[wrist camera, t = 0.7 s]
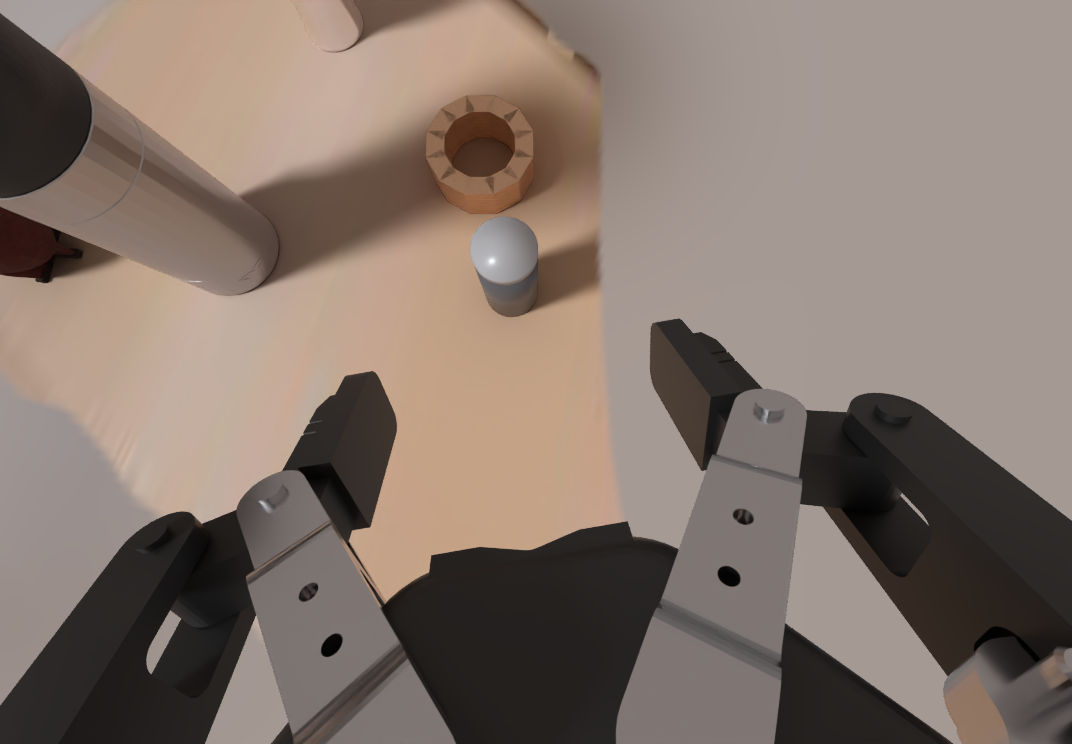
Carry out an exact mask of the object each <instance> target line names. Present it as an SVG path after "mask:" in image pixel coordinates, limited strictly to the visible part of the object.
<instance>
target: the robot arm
mask: <svg viewBox="0 0 1072 744" xmlns="http://www.w3.org/2000/svg"><path fill="white" fill-rule="evenodd" d="M0 207H2V208H4V209H7V210H9V211H12V212H14V213H17V214H19V215H22V216H24V217H27V218H29V219H31V220H34V221H36V222H39V223H42V224H44V225H47V226H49V227H52V228H54V229H57V230H59V231H62V232H64V233H66V234H69V235H71V236H74V237H76V238H79V239H81V240H84V241H86V242H88V243H91V244H93V245H96V246H98V247H101V248H103V249H106V250H108V251H110V252H113V253H115V254H118V255H120V256H123V257H125V258H128V259H130V260H133V261H135V262H137V263H140V264H142V265H145V266H147V267H150V268H152V269H155V270H157V271H159V272H162V273H164V274H167V275H169V276H172V277H174V278H176V279H179V280H181V281H184V282H186V283H188V284H191V285H193V286H196V287H198V288H201V289H203V290H206V291H208V292H211V293H214V294H217V295H226V296H229V295H238V294H241V293H244V292H247V291H249V290H251V289H253V288H255V287H257V286H258V285H259V284H260V283H262V282H263V281H264V280H265V279H266V278H267V276H268V275H269V274H270V273H271V271H272V269H273V267H274V266H275V264H276V260H277V257H278V250H279V243H278V237H277V234H276V231H275V229H274V227H273V226H272V224H271V223H270V221H269V220H268V219H267V218H266V217H264V216H263V215H262V214H261V213H260V212H258V211H257V210H256V209H254V208H253V207H252V206H251V205H249V204H248V203H247V202H245V201H244V200H243V199H241V198H240V197H239V196H238V195H236V194H235V193H234V192H233V191H231V190H230V189H229V188H228V187H226V186H225V185H224V184H222V183H221V182H220V181H218V180H217V179H216V178H215V177H213V176H212V175H211V174H209V173H208V172H207V171H205V170H204V169H203V168H202V167H200V166H199V165H198V164H196V163H195V162H194V161H192V160H191V159H190V158H189V157H187V156H186V155H185V154H183V153H182V152H181V151H179V150H178V149H177V148H176V147H174V146H173V145H172V144H170V143H169V142H168V141H166V140H165V139H164V138H163V137H161V136H160V135H159V134H157V133H156V132H155V131H153V130H152V129H151V128H150V127H148V126H147V125H146V124H144V123H143V122H142V121H140V120H139V119H138V118H137V117H135V116H134V115H133V114H131V113H130V112H129V111H127V110H126V109H125V108H123V107H122V106H121V105H119V104H118V103H117V102H115V101H114V100H113V99H111V98H110V97H109V96H108V95H106V94H105V93H104V92H102V91H101V90H100V89H98V88H97V87H96V86H95V85H93V84H92V83H91V82H89V81H88V80H87V79H86V78H84V77H83V76H82V75H80V74H79V73H78V72H76V71H75V70H74V69H72V68H71V67H70V66H69V65H68V64H66V63H65V62H64V61H62V60H61V59H60V58H58V57H57V56H56V55H54V54H53V53H52V52H50V51H49V50H48V49H46V48H45V47H44V46H42V45H41V44H40V43H38V42H37V41H36V40H34V39H33V38H32V37H30V36H29V35H28V34H26V33H25V32H24V31H23V30H21V29H20V28H19V27H17V26H16V25H15V24H14V23H12V22H11V21H10V20H8V19H7V18H6V17H4V16H3V15H2V14H0ZM650 343H651V344H650V374H651V379H652V383H653V386H654V388H655V390H656V392H657V394H658V395H659V397H660V399H661V401H662V402H663V404H664V406H665V408H666V410H667V411H668V413H669V415H670V417H671V418H672V420H673V422H674V424H675V425H676V427H677V429H678V431H679V432H680V434H681V436H682V438H683V439H684V441H685V443H686V445H687V446H688V448H689V450H690V452H691V453H692V455H693V457H694V458H695V460H696V462H697V464H698V466H699V467H700V469H701V470H702V471H704V470H706V473H705V476H704V479H703V482H702V485H701V488H700V491H699V494H698V496H697V499H696V502H695V505H694V508H693V510H692V513H691V516H690V519H689V523H688V525H687V528H686V531H685V533H684V536H683V539H682V542H681V545H680V548H679V549H677V548H675V547H672V546H670V545H668V544H665V543H662V542H659V541H656V540H652V539H647V538H641V537H632V534H631V531H630V527H629V524H628V521H627V522H621V523H615V524H610V525H604V526H598V527H592V528H587V529H581V530H578V531H575V532H573V533H571V534H568V535H566V536H564V537H561V538H559V539H557V540H554V541H552V542H550V543H548V544H545V545H543V546H541V547H538V548H536V549H533V550H513V549H499V548H485V547H477V548H471V549H466V550H460V551H454V552H448V553H443V554H437V555H431V563H430V571H429V573H427V574H425V575H423V576H421V577H419V578H417V579H416V580H414V581H412V582H411V583H409V584H408V585H406V586H405V587H404V588H402V589H401V590H400V591H398V592H397V593H396V594H395V595H394V596H393V597H391V598H390V599H389V600H388V601H387V602H386V600H385V599H384V597H383V595H382V594H381V592H380V591H379V589H378V587H377V586H376V584H375V582H374V581H373V579H372V577H371V576H370V574H369V572H368V571H367V569H366V568H365V566H364V564H363V563H362V561H361V559H360V558H359V556H358V554H357V553H356V551H355V549H354V548H353V546H352V545H351V543H350V542H349V538H350V535H351V532H352V530H357V529H362V528H368V527H370V526H371V523H372V519H373V515H374V512H375V508H376V505H377V501H378V497H379V494H380V490H381V486H382V483H383V479H384V476H385V472H386V468H387V465H388V461H389V458H390V454H391V450H392V447H393V443H394V440H395V436H396V432H397V422H396V417H395V413H394V411H393V409H392V406H391V404H390V402H389V399H388V397H387V395H386V393H385V390H384V388H383V386H382V384H381V381H380V379H379V377H378V375H377V374H376V373H375V372H373V371H371V372H365V373H359V374H353V375H348V376H345V377H344V379H343V381H342V383H341V385H340V387H339V389H338V391H337V392H336V394H335V395H332V396H330V397H329V398H328V399H327V400H325V401H324V402H323V403H322V404H321V405H320V406H319V407H318V408H317V409H316V411H315V413H314V415H313V416H312V418H311V420H310V424H308V425H307V427H306V429H305V431H304V435H303V436H301V438H300V440H299V442H298V443H297V445H296V447H295V449H294V451H293V452H292V454H291V456H290V458H289V459H288V461H287V463H286V465H285V467H284V468H283V470H282V472H278V473H275V474H273V475H270V476H268V477H267V478H265V479H263V480H261V481H260V482H258V483H257V484H256V485H254V486H253V487H252V488H251V489H250V490H248V492H247V493H246V494H245V495H244V496H243V497H242V499H241V500H240V502H239V504H238V506H237V510H235V511H233V512H230V513H228V514H225V515H223V516H220V517H218V518H215V519H213V520H210V521H208V522H206V523H203V524H201V523H200V522H199V521H198V520H197V519H196V518H195V517H194V516H193V515H192V514H191V513H189V512H175V513H171V514H168V515H165V516H163V517H161V518H159V519H156V520H155V521H153V522H151V523H150V524H148V525H146V526H145V527H143V528H142V529H140V530H139V531H138V532H136V533H135V534H134V535H133V536H132V537H130V538H129V539H128V540H127V541H126V542H125V544H124V545H123V546H122V547H121V548H120V549H119V551H118V552H117V553H116V555H115V556H114V557H113V559H112V560H111V561H110V563H109V564H108V565H107V567H106V568H105V569H104V571H103V572H102V573H101V574H100V576H99V577H98V578H97V580H96V581H95V582H94V583H93V585H92V586H91V587H90V589H89V590H88V592H87V593H86V594H85V595H84V597H83V598H82V599H81V601H80V602H79V603H78V604H77V606H76V607H75V608H74V610H73V611H72V612H71V614H70V615H69V616H68V618H67V619H66V620H65V622H64V623H63V624H62V625H61V627H60V628H59V630H58V631H57V632H56V634H55V635H54V636H53V637H52V639H51V640H50V641H49V642H48V644H47V645H46V646H45V648H44V649H43V651H42V652H41V653H40V654H39V656H38V657H37V658H36V660H35V661H34V662H33V664H32V665H31V666H30V667H29V669H28V670H27V671H26V673H25V674H24V675H23V677H22V678H21V679H20V680H19V682H18V683H17V684H16V686H15V687H14V688H13V690H12V691H11V692H10V694H9V695H8V696H7V698H6V699H5V700H4V702H3V703H2V704H1V705H0V744H205V742H206V739H207V737H208V734H209V732H210V729H211V727H212V724H213V722H214V719H215V717H216V714H217V712H218V709H219V707H220V704H221V702H222V699H223V697H224V694H225V692H226V689H227V687H228V684H229V682H230V679H231V677H232V674H233V672H234V669H235V667H236V664H237V662H238V659H239V656H240V654H241V651H242V649H243V646H244V644H245V641H246V639H247V636H248V634H249V631H250V629H251V626H252V624H253V621H254V619H255V616H257V619H258V622H259V625H260V629H261V632H262V635H263V639H264V642H265V645H266V649H267V652H268V655H269V658H270V662H271V665H272V668H273V672H274V675H275V678H276V682H277V685H278V688H279V691H280V694H281V698H282V701H283V704H284V708H285V711H286V715H287V718H288V721H289V722H288V723H287V725H286V726H285V727H284V728H283V730H282V731H281V732H280V733H279V735H278V736H277V737H276V738H275V740H274V741H273V742H272V743H271V744H953V743H951V742H950V741H949V740H948V739H946V738H945V737H943V736H942V735H941V734H940V733H938V732H937V731H935V730H934V729H933V728H931V727H930V726H928V725H927V724H926V723H924V722H923V721H921V720H920V719H919V718H917V717H916V716H914V715H913V714H912V713H910V712H909V711H907V710H906V709H905V708H903V707H902V706H900V705H899V704H898V703H896V702H895V701H893V700H892V699H891V698H889V697H888V696H886V695H885V694H884V693H882V692H881V691H879V690H878V689H877V688H875V687H874V686H872V685H871V684H870V683H868V682H866V681H865V680H864V679H863V678H861V677H860V676H858V675H857V674H855V673H854V672H853V671H851V670H850V669H849V668H847V667H846V666H844V665H843V664H842V663H840V662H839V661H837V660H836V659H834V658H833V657H832V656H830V655H829V654H827V653H826V652H825V651H823V650H822V649H820V648H819V647H818V646H816V645H815V644H814V643H812V642H811V641H809V640H808V639H807V638H805V637H804V636H802V635H801V634H800V633H798V632H796V631H795V630H794V629H793V628H791V627H790V626H788V625H787V624H786V623H785V618H786V611H787V603H788V595H789V587H790V579H791V571H792V562H793V554H794V547H795V539H796V531H797V523H798V514H799V507H800V504H805V505H813V506H823V507H824V509H825V510H826V512H827V513H828V514H829V516H830V517H831V519H832V520H833V521H834V523H835V524H836V525H837V527H838V528H839V529H840V530H841V532H842V533H843V535H844V536H845V537H846V539H847V540H848V542H849V543H850V544H851V545H852V547H853V548H854V550H855V551H856V552H857V554H858V555H859V556H860V558H861V559H862V560H863V562H864V563H865V565H866V566H867V567H868V569H869V570H870V571H871V572H872V574H873V575H874V577H875V578H876V580H877V581H878V582H879V583H880V585H881V586H882V588H883V589H884V590H885V592H886V593H887V594H888V596H889V597H890V599H891V600H892V601H893V603H894V604H895V605H896V607H897V608H898V609H899V611H900V612H901V614H902V615H903V616H904V617H905V619H906V620H907V622H908V623H909V624H910V626H911V627H912V628H913V630H914V631H915V633H916V634H917V635H918V637H919V638H920V639H921V641H922V642H923V643H924V645H925V646H926V647H927V649H928V650H929V652H930V653H931V654H932V656H933V657H934V658H935V660H936V661H937V662H938V664H939V665H940V666H941V668H942V669H943V670H944V672H945V673H946V675H947V676H948V677H947V679H946V681H945V683H944V688H943V693H944V700H945V704H946V707H947V710H948V712H949V715H950V717H951V718H952V720H953V722H954V724H955V725H956V727H957V734H958V737H959V739H960V741H961V743H962V744H1072V521H1071V520H1070V519H1069V518H1067V517H1066V516H1065V515H1063V514H1062V513H1061V512H1060V511H1058V510H1057V509H1056V508H1054V507H1053V506H1052V505H1050V504H1049V503H1048V502H1047V501H1045V500H1044V499H1043V498H1041V497H1040V496H1039V495H1038V494H1036V493H1035V492H1034V491H1032V490H1031V489H1030V488H1028V487H1027V486H1026V485H1025V484H1023V483H1022V482H1021V481H1019V480H1018V479H1017V478H1015V477H1014V476H1013V475H1012V474H1010V473H1009V472H1008V471H1006V470H1005V469H1004V468H1002V467H1001V466H1000V465H999V464H997V463H996V462H995V461H993V460H992V459H991V458H989V457H988V456H987V455H986V454H984V453H983V452H982V451H980V450H979V449H978V448H977V447H975V446H974V445H973V444H971V443H970V442H969V441H967V440H966V439H965V438H964V437H962V436H961V435H960V434H958V433H957V432H956V431H955V430H953V429H952V428H950V427H949V426H948V425H947V424H946V423H944V422H943V421H942V420H940V419H939V418H938V417H936V416H935V415H934V414H933V413H931V412H930V411H929V410H927V409H926V408H924V407H923V406H921V405H919V404H917V403H916V402H913V401H911V400H909V399H906V398H903V397H899V396H895V395H890V394H884V393H867V394H863V395H860V396H857V397H855V398H854V399H853V400H852V401H851V403H850V405H849V408H848V410H847V412H829V411H811V410H806V409H805V408H804V406H803V405H802V404H801V403H800V402H799V401H798V400H797V399H795V398H793V397H792V396H790V395H788V394H785V393H782V392H779V391H775V390H770V389H762V387H761V386H760V385H759V384H758V383H757V382H756V381H755V380H754V379H753V378H752V377H751V376H750V375H749V374H748V373H747V372H746V370H744V368H743V367H742V366H741V365H740V364H739V363H738V362H737V361H735V360H734V358H733V357H732V356H731V355H730V354H729V352H728V353H727V352H726V349H725V348H724V347H723V346H722V345H721V344H720V343H719V342H718V341H717V340H716V339H714V338H712V337H710V336H708V335H706V334H704V333H702V332H699V333H692V332H691V330H690V329H689V328H688V327H687V326H686V324H685V323H684V322H683V321H682V320H681V319H673V320H668V321H662V322H656V323H653V324H652V326H651V340H650ZM902 493H903V494H904V495H905V496H906V497H907V498H908V499H909V500H910V501H911V503H912V504H913V505H914V506H915V507H916V508H917V509H918V510H919V511H920V512H921V513H922V514H923V515H924V517H925V518H926V520H927V522H928V524H929V526H928V525H927V524H926V523H925V521H924V520H923V519H922V518H921V517H920V516H919V515H918V514H917V513H916V512H915V511H914V510H913V509H912V508H911V507H910V506H909V505H908V504H907V502H905V500H903V498H902V497H901V496H900V495H901V494H902ZM170 610H171V611H172V612H174V613H175V614H176V615H177V616H179V617H180V618H181V621H180V622H179V624H178V626H177V628H176V630H175V632H174V634H173V636H172V637H171V639H170V641H169V643H168V645H167V647H166V648H165V650H164V652H163V654H162V656H161V658H160V660H159V661H158V663H157V665H156V667H155V669H154V671H153V673H152V674H150V673H149V671H148V669H147V665H146V657H147V652H148V649H149V647H150V645H151V643H152V641H153V639H154V637H155V635H156V634H157V632H158V630H159V628H160V627H161V625H162V623H163V622H164V620H165V618H166V616H167V615H168V613H169V611H170Z"/></svg>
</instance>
